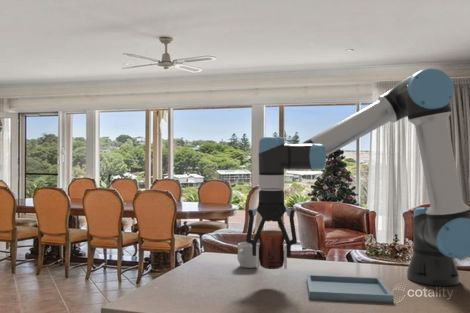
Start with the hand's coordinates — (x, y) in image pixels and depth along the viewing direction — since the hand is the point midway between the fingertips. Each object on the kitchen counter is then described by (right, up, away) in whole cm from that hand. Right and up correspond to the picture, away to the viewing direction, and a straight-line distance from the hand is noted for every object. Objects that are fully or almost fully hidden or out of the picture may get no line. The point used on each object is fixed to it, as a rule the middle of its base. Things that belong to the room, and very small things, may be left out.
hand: (271, 267), depth 130 cm
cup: (-7, -6, +24) cm, 26 cm away
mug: (0, -1, 0) cm, 1 cm away
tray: (+21, -6, -3) cm, 22 cm away
